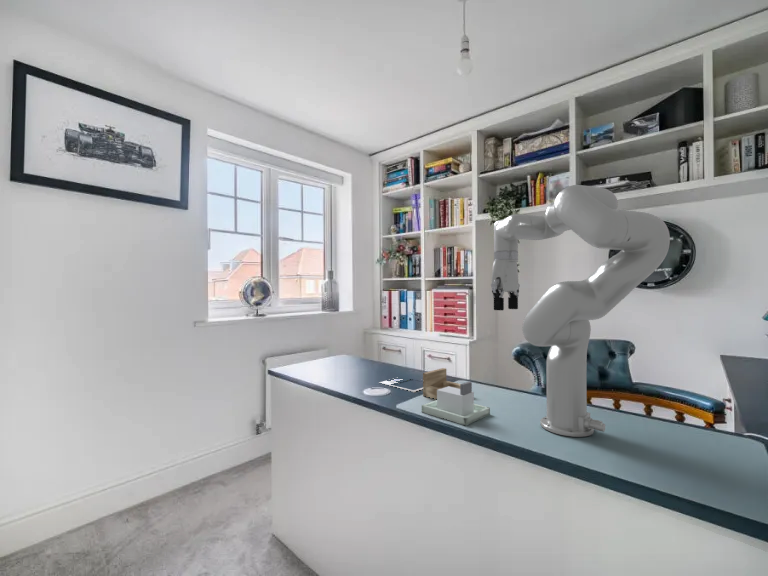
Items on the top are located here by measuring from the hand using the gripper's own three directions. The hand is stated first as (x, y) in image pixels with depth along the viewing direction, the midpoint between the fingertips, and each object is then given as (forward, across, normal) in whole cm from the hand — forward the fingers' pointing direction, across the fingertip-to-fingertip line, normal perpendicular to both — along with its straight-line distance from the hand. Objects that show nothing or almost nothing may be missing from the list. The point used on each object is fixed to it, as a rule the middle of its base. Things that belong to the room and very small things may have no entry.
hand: (506, 309), depth 119 cm
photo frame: (+31, +6, -38) cm, 49 cm away
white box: (+30, +21, -6) cm, 37 cm away
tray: (+30, +21, -6) cm, 37 cm away
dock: (+30, +8, -17) cm, 36 cm away
